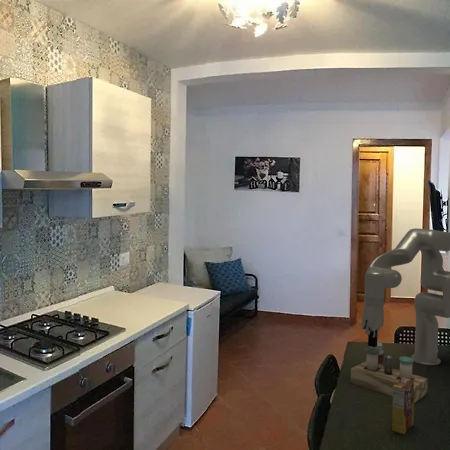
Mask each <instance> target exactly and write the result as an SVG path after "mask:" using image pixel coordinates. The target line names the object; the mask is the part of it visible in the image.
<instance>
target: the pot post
mask: <svg viewBox="0 0 450 450" xmlns="http://www.w3.org/2000/svg"><path fill="white" fill-rule="evenodd" d="M384 366H385V368H384V373H385V374H387V375H392V369H394V368H393V367H394V358H393V356H392V355H389V354H386V355H385V357H384Z"/></svg>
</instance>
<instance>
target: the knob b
mask: <svg viewBox="0 0 450 450" xmlns="http://www.w3.org/2000/svg"><path fill="white" fill-rule="evenodd" d="M398 361H399V371H400V377H399V379H400V380H401V379H402V378H405V379H410V380H412V374H413V364H414V363H415V362H414V359H413V358H411V356H410V357H409V356H404V355H403V356H399V357H398Z"/></svg>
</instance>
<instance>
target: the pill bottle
mask: <svg viewBox="0 0 450 450" xmlns="http://www.w3.org/2000/svg"><path fill="white" fill-rule="evenodd" d="M369 348H376V349H379V354H378V365H382V366H384V361H385V357H384V355H385V353H384V350H383V343H382V342H378V341H377V347H371V346H369Z"/></svg>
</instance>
